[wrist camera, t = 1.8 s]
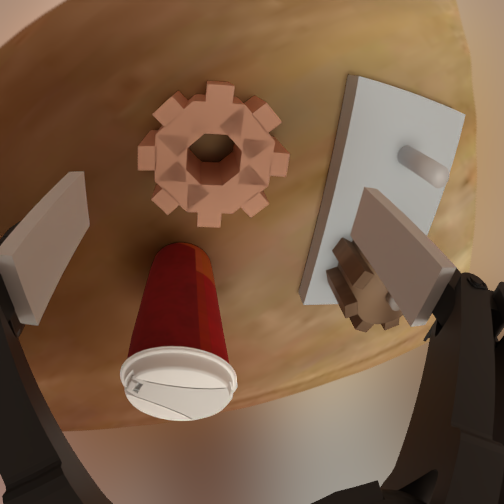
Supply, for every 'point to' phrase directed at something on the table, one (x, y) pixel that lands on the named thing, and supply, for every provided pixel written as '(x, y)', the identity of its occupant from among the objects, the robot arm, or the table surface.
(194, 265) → the paper cup
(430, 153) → the gear board
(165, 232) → the table surface
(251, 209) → the gear
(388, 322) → the gear
